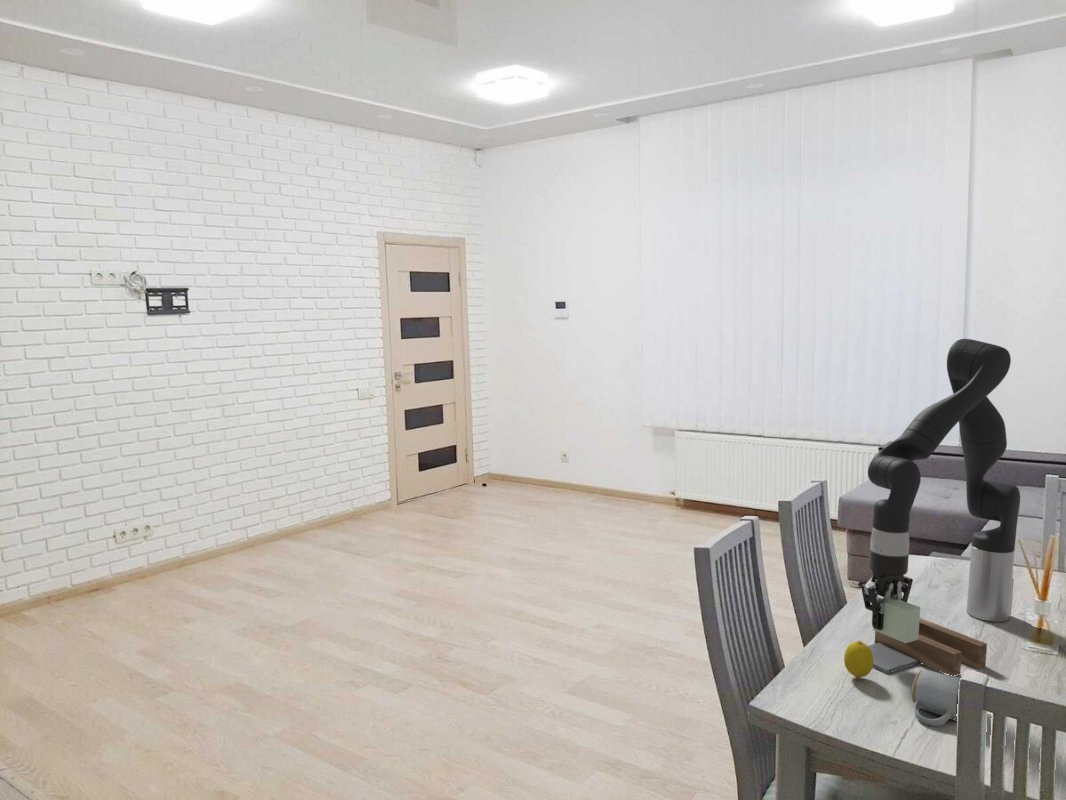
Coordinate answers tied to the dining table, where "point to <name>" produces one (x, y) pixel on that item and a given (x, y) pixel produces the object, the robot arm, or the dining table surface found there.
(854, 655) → the lemon
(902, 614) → the sage block
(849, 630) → the dining table surface
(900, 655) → the slate coaster
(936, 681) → the ceramic mug
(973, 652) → the rail
